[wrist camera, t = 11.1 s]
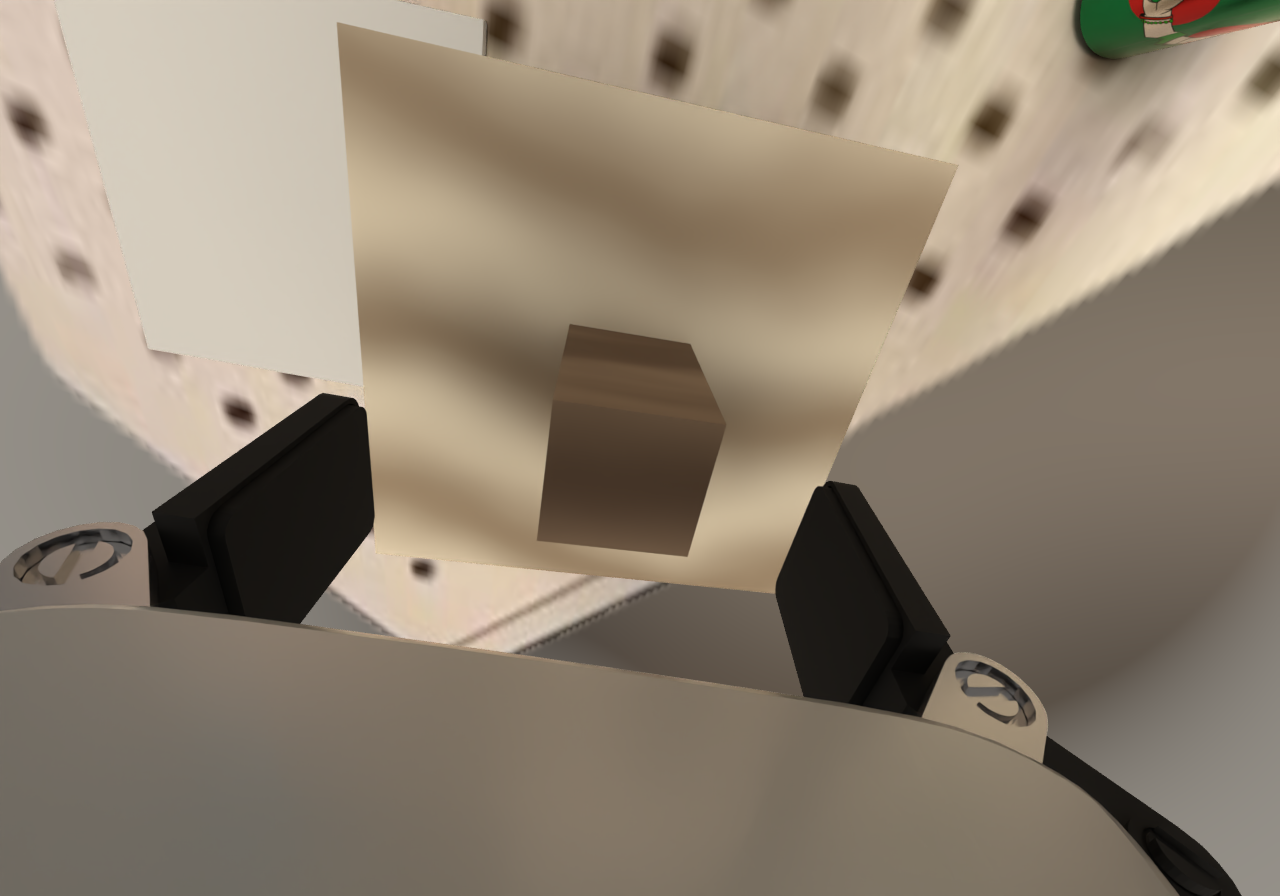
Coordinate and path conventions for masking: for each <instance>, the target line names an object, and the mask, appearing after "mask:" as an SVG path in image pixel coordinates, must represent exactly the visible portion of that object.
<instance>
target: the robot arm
mask: <svg viewBox="0 0 1280 896" xmlns="http://www.w3.org/2000/svg"><path fill="white" fill-rule="evenodd" d="M152 514H153V517H154V520H155V522H153V523H152V524H151V525H149V526H148V527H147V528H145V529H144V530H140V529H138V528H137V527H135V526H133V525H128V524H124V523H120V522H97V523H91V524H82V525H77V526H73V527H69V528H65V529H61V530H57V531H54V532H52V533H49V534H46V535H44V536H41V537H38V538H36V539H34V540H32V541H30V542H28V543H27V544H24V545H23V546H21V547H19V548H17V549H15V550H14V551H13V552H12V553H11V554H9V555H8V556H7V557H6V558H5V559H3V560H2V561H1V563H0V896H1241V894H1240V893H1239V891H1238V889H1237V887H1236V885H1235V884H1234V882H1233V881H1232V879H1231V878H1230V877H1229V876H1228V874H1227V873H1226V872H1225V871H1224V870H1223V868H1222V867H1221V866H1220V864H1219V863H1218V862H1217V861H1216V860H1215V859H1214V858H1213V857H1212V856H1211V855H1210V853H1208V851H1207V850H1206V849H1205V848H1203V846H1201V845H1200V844H1199V843H1198V842H1197V841H1195V840H1194V839H1193V838H1191V837H1190V836H1189V835H1188V834H1186V833H1185V832H1184V831H1182V830H1181V829H1180V828H1178V827H1177V826H1176V825H1174V824H1173V823H1172V822H1170V821H1169V820H1167V819H1166V818H1164V817H1163V816H1161V815H1160V814H1159V813H1157V812H1156V811H1154V810H1153V809H1151V808H1150V807H1148V806H1147V805H1146V804H1144V803H1143V802H1141V801H1140V800H1138V799H1137V798H1135V797H1134V796H1133V795H1131V794H1130V793H1128V792H1127V791H1125V790H1124V789H1122V788H1121V787H1120V786H1118V785H1117V784H1115V783H1114V782H1112V781H1111V780H1110V779H1108V778H1107V777H1105V776H1104V775H1102V774H1101V773H1099V772H1098V771H1097V770H1095V769H1094V768H1092V767H1091V766H1089V765H1088V764H1086V763H1085V762H1083V761H1082V760H1081V759H1079V758H1078V757H1076V756H1075V755H1073V754H1072V753H1071V752H1069V751H1068V750H1066V749H1065V748H1063V747H1062V746H1060V745H1059V744H1057V743H1056V742H1055V741H1053V740H1052V739H1050V738H1049V737H1048V736H1046V735H1047V729H1048V722H1047V714H1046V712H1045V710H1044V707H1043V705H1042V703H1041V702H1040V700H1039V699H1038V698H1037V696H1036V695H1035V694H1034V692H1032V690H1031V689H1030V688H1029V687H1028V686H1027V685H1026V684H1025V683H1024V682H1023V681H1022V680H1021V679H1020V678H1019V677H1018V676H1016V675H1015V674H1013V673H1012V672H1011V671H1009V670H1008V669H1006V668H1005V667H1004V666H1002V665H1000V664H998V663H996V662H994V661H992V660H990V659H988V658H986V657H983V656H980V655H977V654H974V653H964V652H959V653H956V654H954V653H953V652H952V650H951V648H950V647H949V645H948V644H947V640H948V639H949V637H950V634H949V633H948V631H947V629H946V628H945V626H944V625H943V623H942V621H941V620H940V618H939V616H938V615H937V613H936V612H935V610H934V608H933V607H932V605H931V604H930V602H929V601H928V599H927V597H926V596H925V594H924V592H923V591H922V589H921V587H920V586H919V584H918V583H917V581H916V579H915V578H914V576H913V575H912V573H911V571H910V570H909V568H908V567H907V565H906V564H905V562H904V560H903V559H902V557H901V555H900V554H899V552H898V551H897V549H896V547H895V546H894V544H893V543H892V541H891V539H890V538H889V536H888V535H887V533H886V531H885V530H884V528H883V526H882V525H881V523H880V522H879V520H878V518H877V517H876V515H875V514H874V512H873V510H872V509H871V507H870V506H869V504H868V502H867V501H866V499H865V497H864V496H863V494H862V493H861V491H860V489H859V488H858V487H857V486H855V485H850V484H845V483H839V482H833V481H828V482H826V483H825V484H824V486H817V487H816V488H815V490H814V492H813V494H812V496H811V499H810V501H809V504H808V506H807V508H806V511H805V513H804V516H803V518H802V520H801V523H800V525H799V527H798V530H797V532H796V535H795V537H794V539H793V542H792V544H791V547H790V549H789V551H788V554H787V556H786V559H785V561H784V563H783V566H782V568H781V571H780V573H779V575H778V578H777V581H776V586H775V594H776V598H777V602H778V606H779V609H780V613H781V617H782V620H783V624H784V627H785V631H786V634H787V638H788V642H789V645H790V649H791V653H792V656H793V660H794V663H795V667H796V671H797V674H798V678H799V681H800V685H801V689H802V692H803V696H804V697H801V696H795V695H789V694H783V693H776V692H770V691H762V690H756V689H750V688H743V687H736V686H729V685H723V684H715V683H710V682H703V681H696V680H690V679H683V678H676V677H669V676H663V675H656V674H650V673H643V672H636V671H629V670H622V669H615V668H608V667H602V666H595V665H588V664H581V663H574V662H567V661H560V660H553V659H546V658H539V657H532V656H526V655H519V654H512V653H505V652H498V651H491V650H484V649H477V648H470V647H463V646H455V645H448V644H441V643H434V642H427V641H419V640H412V639H405V638H398V637H390V636H383V635H376V634H369V633H361V632H354V631H347V630H340V629H333V628H325V627H318V626H311V625H303V624H300V623H301V622H302V620H303V619H304V618H305V617H306V615H307V614H308V613H309V611H310V610H311V609H312V607H313V606H314V605H315V603H316V602H317V601H318V600H319V598H320V597H321V595H322V594H323V593H324V592H325V590H326V589H327V588H328V586H329V585H330V584H331V583H332V581H333V580H334V579H335V577H336V576H337V575H338V573H339V572H340V571H341V569H342V568H343V567H344V566H345V564H346V563H347V562H348V560H349V559H350V558H351V556H352V555H353V554H354V552H355V551H356V550H357V549H358V547H359V546H360V545H361V543H362V542H363V541H364V539H365V538H366V537H367V535H368V534H369V533H370V531H371V529H372V527H373V524H374V519H375V510H374V497H373V485H372V472H371V460H370V447H369V435H368V422H367V413H366V410H365V408H363V407H359V405H358V403H357V401H356V400H355V399H354V398H349V397H343V396H338V395H332V394H326V393H322V394H320V395H318V396H317V397H315V398H314V399H312V400H311V401H309V402H308V403H307V404H305V405H304V406H302V407H301V408H299V409H298V410H297V411H295V412H294V413H292V414H291V415H289V416H288V417H287V418H285V419H284V420H282V421H281V422H279V423H278V424H277V425H275V426H274V427H272V428H271V429H269V430H268V431H267V432H265V433H264V434H262V435H261V436H259V437H258V438H257V439H255V440H254V441H252V442H251V443H249V444H248V445H247V446H245V447H244V448H242V449H241V450H239V451H238V452H237V453H235V454H234V455H232V456H231V457H229V458H228V459H227V460H225V461H224V462H222V463H221V464H219V465H218V466H217V467H215V468H214V469H212V470H211V471H209V472H208V473H207V474H205V475H204V476H202V477H201V478H199V479H198V480H197V481H195V482H194V483H192V484H191V485H189V486H188V487H187V488H185V489H184V490H182V491H181V492H179V493H178V494H177V495H175V496H174V497H172V498H171V499H169V500H168V501H167V502H165V503H164V504H162V505H161V506H159V507H158V508H157V509H155V510H154V511H152Z"/></svg>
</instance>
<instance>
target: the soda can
mask: <svg viewBox="0 0 1280 896" xmlns="http://www.w3.org/2000/svg"><path fill="white" fill-rule="evenodd" d="M1277 21H1280V0H1082V4H1081V10H1080V25H1081V31H1082V35H1083V37H1084V39H1085V42H1086V43H1087V45H1088V46H1089V47H1090V49H1091V50H1093V51H1094V52H1095V53H1096V54H1098V55H1100V56H1102V57H1105V58H1110V59H1121V58H1127V57H1132V56H1136V55H1140V54H1144V53H1148V52H1152V51H1157V50H1161V49H1165V48H1169V47H1173V46H1177V45H1181V44H1186V43H1190V42H1194V41H1198V40H1202V39H1206V38H1211V37H1215V36H1219V35H1223V34H1227V33H1231V32H1235V31H1240V30H1244V29H1248V28H1252V27H1256V26H1260V25H1265V24H1269V23H1273V22H1277Z"/></svg>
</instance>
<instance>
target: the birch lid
mask: <svg viewBox="0 0 1280 896" xmlns="http://www.w3.org/2000/svg"><path fill="white" fill-rule="evenodd" d="M337 34H338V48H339V61H340V75H341V89H342V102H343V116H344V129H345V143H346V156H347V170H348V183H349V197H350V211H351V224H352V238H353V251H354V265H355V278H356V292H357V305H358V319H359V332H360V346H361V360H362V373H363V387H364V400H365V410H366V413H367V422H368V435H369V447H370V460H371V472H372V485H373V497H374V510H375V519H374V536H375V549H376V554H386V555H396V556H406V557H416V558H426V559H436V560H446V561H456V562H466V563H476V564H486V565H496V566H506V567H516V568H526V569H536V570H546V571H555V572H565V573H575V574H585V575H595V576H605V577H615V578H625V579H635V580H645V581H655V582H665V583H675V584H685V585H695V586H705V587H716V588H725V589H736V590H746V591H755V592H765V593H775V586H776V581H777V578H778V575H779V573H780V571H781V568H782V566H783V563H784V561H785V559H786V556H787V554H788V551H789V549H790V547H791V544H792V542H793V539H794V537H795V535H796V532H797V530H798V527H799V525H800V523H801V520H802V518H803V516H804V513H805V511H806V508H807V506H808V504H809V501H810V499H811V496H812V494H813V492H814V490H815V488H816V487H817V486H824V484H825V481H826V479H827V476H828V474H829V472H830V470H831V467H832V465H833V462H834V460H835V457H836V455H837V453H838V450H839V448H840V446H841V443H842V441H843V439H844V436H845V434H846V431H847V429H848V427H849V424H850V422H851V420H852V417H853V415H854V412H855V410H856V408H857V405H858V403H859V401H860V398H861V396H862V393H863V391H864V389H865V386H866V384H867V381H868V379H869V377H870V374H871V372H872V370H873V367H874V365H875V362H876V360H877V358H878V355H879V353H880V351H881V348H882V346H883V343H884V341H885V339H886V336H887V334H888V331H889V329H890V327H891V324H892V322H893V320H894V317H895V315H896V312H897V310H898V308H899V305H900V303H901V301H902V298H903V296H904V293H905V291H906V289H907V286H908V284H909V282H910V279H911V277H912V274H913V272H914V270H915V267H916V265H917V262H918V260H919V258H920V255H921V253H922V251H923V248H924V246H925V243H926V241H927V239H928V236H929V234H930V232H931V229H932V227H933V224H934V222H935V220H936V217H937V215H938V213H939V210H940V208H941V205H942V203H943V201H944V198H945V196H946V193H947V191H948V189H949V186H950V184H951V182H952V179H953V177H954V174H955V172H956V170H957V167H958V165H955V164H951V163H946V162H942V161H938V160H933V159H929V158H925V157H920V156H916V155H912V154H907V153H903V152H899V151H894V150H890V149H886V148H881V147H877V146H873V145H868V144H864V143H860V142H855V141H851V140H847V139H842V138H838V137H834V136H829V135H825V134H821V133H816V132H812V131H808V130H803V129H799V128H795V127H790V126H786V125H782V124H777V123H773V122H769V121H764V120H760V119H755V118H751V117H747V116H742V115H738V114H734V113H729V112H725V111H721V110H716V109H712V108H708V107H703V106H699V105H695V104H690V103H686V102H682V101H677V100H673V99H669V98H664V97H660V96H656V95H651V94H647V93H643V92H638V91H634V90H630V89H625V88H621V87H617V86H612V85H608V84H604V83H599V82H595V81H591V80H586V79H582V78H578V77H573V76H569V75H565V74H560V73H556V72H552V71H547V70H543V69H539V68H534V67H530V66H526V65H521V64H517V63H513V62H508V61H504V60H500V59H495V58H491V57H487V56H482V55H478V54H474V53H469V52H465V51H461V50H456V49H452V48H448V47H443V46H439V45H435V44H430V43H426V42H422V41H417V40H413V39H409V38H404V37H400V36H396V35H391V34H387V33H382V32H378V31H374V30H369V29H365V28H361V27H356V26H352V25H348V24H343V23H339V22H337Z"/></svg>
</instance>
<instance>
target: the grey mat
mask: <svg viewBox="0 0 1280 896" xmlns="http://www.w3.org/2000/svg"><path fill="white" fill-rule="evenodd" d="M54 3H55V7H56V10H57V14H58V18H59V21H60V25H61V29H62V33H63V36H64V40H65V44H66V47H67V51H68V55H69V58H70V62H71V66H72V69H73V73H74V77H75V80H76V84H77V88H78V92H79V95H80V99H81V103H82V106H83V110H84V114H85V117H86V121H87V125H88V128H89V132H90V136H91V140H92V143H93V147H94V151H95V154H96V158H97V162H98V165H99V169H100V173H101V176H102V180H103V184H104V187H105V191H106V195H107V199H108V202H109V206H110V210H111V213H112V217H113V221H114V224H115V228H116V232H117V235H118V239H119V243H120V246H121V250H122V254H123V258H124V261H125V265H126V269H127V272H128V276H129V280H130V283H131V287H132V291H133V294H134V298H135V302H136V305H137V309H138V313H139V317H140V320H141V324H142V328H143V331H144V335H145V339H146V342H147V346H148V349H152V350H158V351H164V352H169V353H175V354H181V355H186V356H192V357H198V358H203V359H209V360H215V361H220V362H226V363H232V364H237V365H243V366H249V367H254V368H260V369H266V370H271V371H277V372H282V373H288V374H294V375H299V376H305V377H311V378H316V379H322V380H328V381H333V382H339V383H345V384H350V385H356V386H362V387H363V373H362V360H361V346H360V332H359V319H358V305H357V292H356V278H355V265H354V251H353V238H352V224H351V211H350V197H349V183H348V170H347V156H346V143H345V129H344V116H343V102H342V89H341V75H340V61H339V48H338V34H337V22H339V23H343V24H348V25H352V26H356V27H361V28H365V29H369V30H374V31H378V32H382V33H387V34H391V35H396V36H400V37H404V38H409V39H413V40H417V41H422V42H426V43H430V44H435V45H439V46H443V47H448V48H452V49H456V50H461V51H465V52H469V53H474V54H478V55H482V56H486V31H487V22H485V21H484V20H483V19H478V18H474V17H469V16H465V15H460V14H456V13H452V12H447V11H443V10H438V9H434V8H429V7H425V6H420V5H416V4H411V3H407V2H402V1H398V0H54Z"/></svg>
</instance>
